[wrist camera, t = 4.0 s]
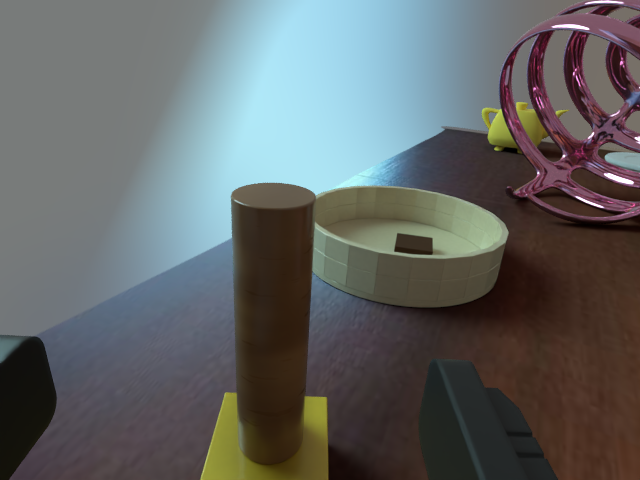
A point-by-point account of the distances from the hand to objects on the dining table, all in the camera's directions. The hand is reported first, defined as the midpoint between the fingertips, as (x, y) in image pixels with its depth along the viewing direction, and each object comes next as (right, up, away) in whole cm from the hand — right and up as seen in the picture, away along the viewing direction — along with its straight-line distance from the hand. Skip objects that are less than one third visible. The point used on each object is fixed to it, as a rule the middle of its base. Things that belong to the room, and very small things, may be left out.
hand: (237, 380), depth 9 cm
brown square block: (+11, +2, +34) cm, 35 cm away
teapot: (+48, +24, +92) cm, 106 cm away
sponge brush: (-1, -8, +11) cm, 14 cm away
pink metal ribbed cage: (+39, +7, +52) cm, 65 cm away
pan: (+10, +1, +34) cm, 36 cm away
